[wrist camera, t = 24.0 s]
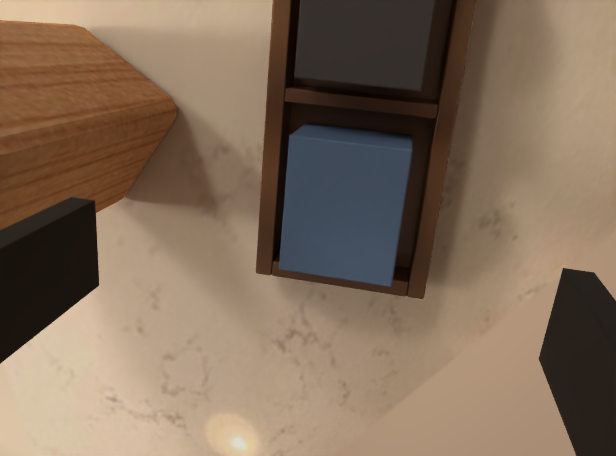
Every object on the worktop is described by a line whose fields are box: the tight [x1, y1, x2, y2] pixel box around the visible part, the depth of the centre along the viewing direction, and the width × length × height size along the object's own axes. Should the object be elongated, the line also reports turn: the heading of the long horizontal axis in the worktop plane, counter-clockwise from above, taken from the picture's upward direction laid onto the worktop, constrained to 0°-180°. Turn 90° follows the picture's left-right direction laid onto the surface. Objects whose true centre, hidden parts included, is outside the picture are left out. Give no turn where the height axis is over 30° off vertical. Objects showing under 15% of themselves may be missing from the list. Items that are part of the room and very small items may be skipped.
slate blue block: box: [279, 123, 413, 287], centre depth 25 cm, size 6×5×4 cm
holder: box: [256, 0, 476, 299], centre depth 25 cm, size 17×8×2 cm, turn 175°
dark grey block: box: [294, 0, 436, 91], centre depth 22 cm, size 6×5×4 cm
